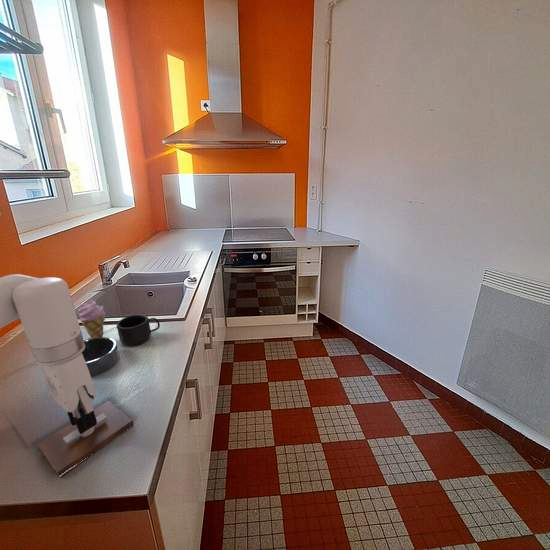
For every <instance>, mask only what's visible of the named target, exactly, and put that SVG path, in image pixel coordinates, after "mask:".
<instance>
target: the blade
mask: <svg viewBox="0 0 550 550" xmlns="http://www.w3.org/2000/svg"><path fill="white" fill-rule="evenodd" d="M82 407H83V406H82V405H80V406H79V407H78V409H80V408H82ZM72 413H73V416H74V417H75V413H74V411H73V412H72ZM105 419H107V416H105V415H104V414H103V413H102V414H100V415H99V416H97V417H96V420H97V424H99V423H101V422H102V421H104V420H105ZM97 424H96V425H97ZM96 425H95V426H96ZM93 431H94V426H93V427H92V428H90V429H88V430H87V431H85V432H84V433H82V434H80V433H79V431H78V429H77V430H75V431H73V432H72V433H70V434H69V435H67V436H65V437H64V438H63V440H64V441H65V442H66V443H67V444H68V443H70V442H71V441H73V440H74V439H76V438H77V437H79V436H81V437H86V436H88V435H90V434H91V433H92V432H93Z"/></svg>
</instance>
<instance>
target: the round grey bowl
mask: <svg viewBox="0 0 550 550" xmlns="http://www.w3.org/2000/svg"><path fill="white" fill-rule="evenodd" d="M84 343H85V349H84V350H83V351H82V354H83V357H84V359H85V361H86V365H87V367H88V370H89V373H90V376H91V378H93V377H98V376H100V375H102V374H104V373H106V372H107V371H110V370H111V369H112V368H114V367H115V366H116V364H118V362H119V360H120V353H119V349H118V344H117V342H116V340H115V339H113V338H112V337H106V336H105V337H104V336H103V337H99V338H93V339H92V338H90V339H85V340H84Z"/></svg>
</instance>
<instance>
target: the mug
mask: <svg viewBox="0 0 550 550" xmlns="http://www.w3.org/2000/svg"><path fill="white" fill-rule="evenodd" d="M150 321H155V322H156V324H157V327H155V328H153V329H151V325H150ZM160 327H161V324H160V321H159V319H158V318H156V317H150V318H149V317H148V316H147V315H144V314H132V315H127V316H126V317H123V318H121V319H120V320H119V321H118V322H117V323H116V330H117V333H118V338H119V341H120V343H121V344H122V345H124V346H126V347H135V346H136V347H137V346H139V345H142V344H144V343H146V342H148V340H149V339H150V337H151V335H152V333H153V332H156V331H158V330H159V329H160Z"/></svg>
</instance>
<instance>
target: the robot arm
mask: <svg viewBox="0 0 550 550" xmlns="http://www.w3.org/2000/svg"><path fill="white" fill-rule="evenodd" d="M76 312H77V311H76V310H75V306H74V301H73V298H72V295H71V291H70V288H69V285H68V283H67V281H65V280H64V279H63V278H60V277H57V276H56V277H54V276H53V277H52V276H49V277H35V276H29V275H26V274H19V273H18V274H17V273H15V274H13V273H11V274H8V275H4V276H1V277H0V329H2V328H4V327H6V326H8V325H9V324H11V323H13V322H15V321H18V320H19V321H20V322H21V325H22V327H23V330H24V334H25V336H26V338H27V341H28V345H29V347H30V349H31V352H32V356H33V358H34V361H35V363H36V364H37V365H39V366H41V370H42V372H43V376H44V379H45V383H46V387H47V390H48V393H49V394H50V396H51V397H52V399H53V400H54V401H55V402H56V403H57V404H58V405H59V406H60V408H62V409H63V410H64V411H65V412H66V413H67V416H68V419H69V422H70V424H72V425H73V426H74V425H77V428H78V431H79V433H80V434H82V433H84V432H85V431H87V430H88V429H90V428H92V427H93V426H95V425H96V424H97V420H96V417H95V414H94V409H95V407H94V405H93V403H92V401H91V400H95V399H96V397H97V394H96V389H95V386H94V382H93V378H92V377H91V376H90V373H89V370H88V367H87V365H86V361H85V359H84V357H83V354H82V351H83V350H84V349H85V343H84V341H85V340H84V336H83V333H82V330H81V327H80V323H79V319H78V315H77V313H76ZM80 405H82V406H83V407H82V408H80V409H78V407H79V406H80ZM73 411H74V413H75V417H74V416H73V413H72V412H73Z"/></svg>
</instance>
